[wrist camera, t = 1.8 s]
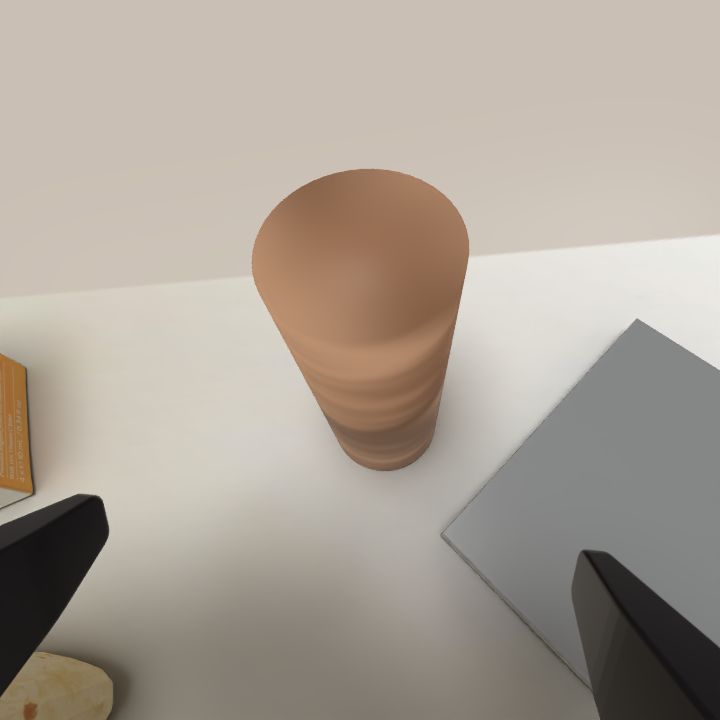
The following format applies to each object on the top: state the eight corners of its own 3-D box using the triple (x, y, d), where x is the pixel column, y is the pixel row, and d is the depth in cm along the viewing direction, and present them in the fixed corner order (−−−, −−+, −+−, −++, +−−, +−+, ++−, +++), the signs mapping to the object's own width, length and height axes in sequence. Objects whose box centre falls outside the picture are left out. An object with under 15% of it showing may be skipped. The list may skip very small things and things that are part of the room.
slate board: (654, 754, 15) (678, 772, 14) (440, 535, 19) (442, 532, 18) (835, 472, 19) (869, 464, 17) (623, 333, 22) (637, 318, 21)
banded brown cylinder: (384, 493, 20) (353, 389, 8) (314, 420, 22) (210, 253, 10) (456, 419, 21) (516, 238, 10) (384, 357, 23) (361, 141, 11)
